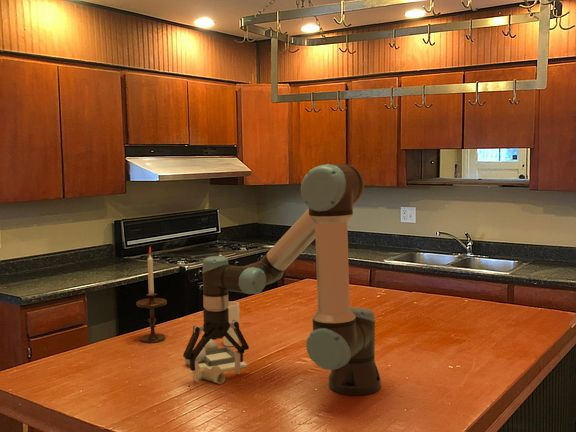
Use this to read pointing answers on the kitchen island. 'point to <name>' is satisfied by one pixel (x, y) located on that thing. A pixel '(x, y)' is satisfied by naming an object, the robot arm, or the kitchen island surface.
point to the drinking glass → (233, 315)
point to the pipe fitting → (212, 374)
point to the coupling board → (217, 357)
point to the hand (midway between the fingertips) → (216, 376)
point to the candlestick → (151, 306)
